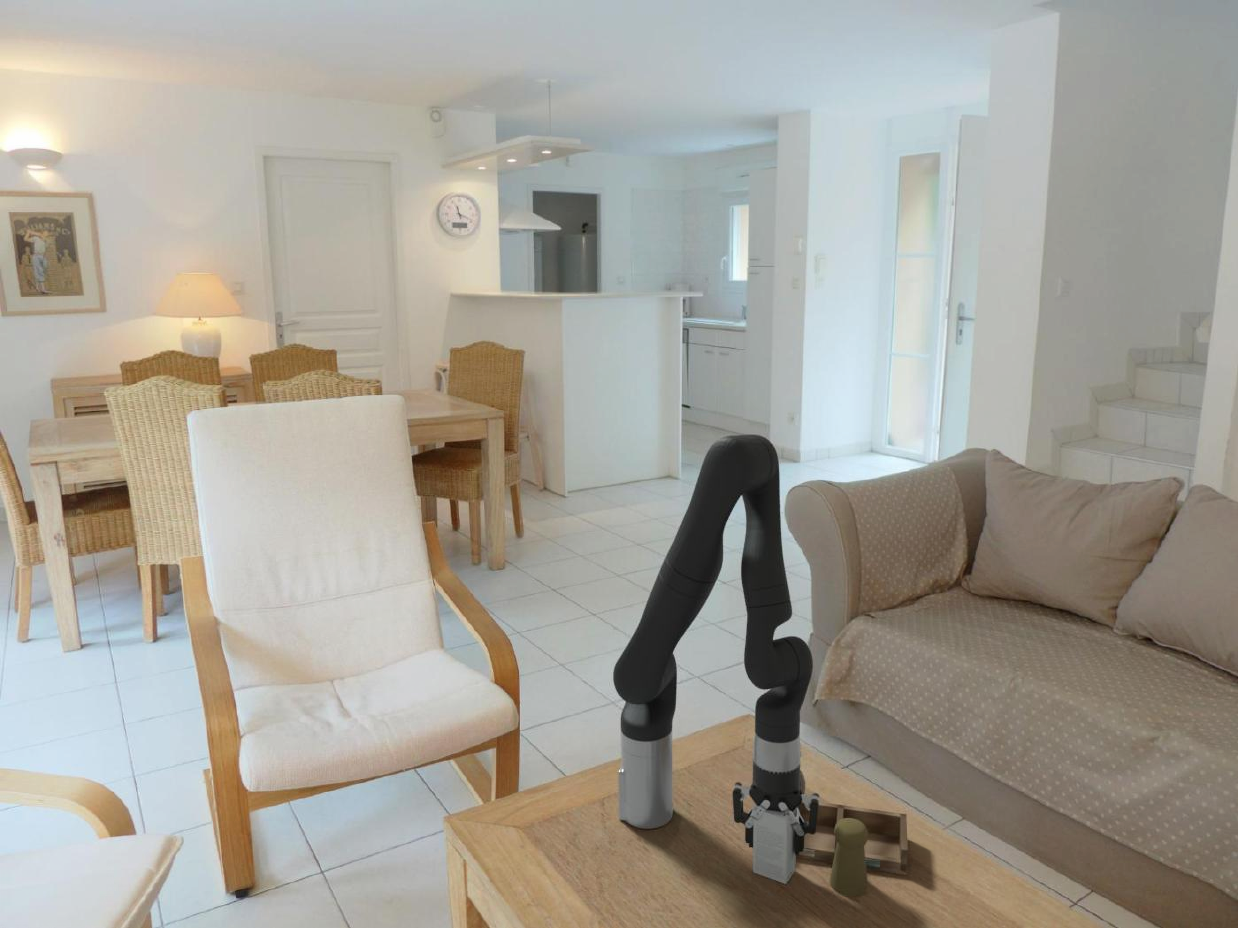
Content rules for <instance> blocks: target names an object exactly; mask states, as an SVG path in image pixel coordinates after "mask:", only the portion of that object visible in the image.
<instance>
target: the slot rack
mask: <svg viewBox="0 0 1238 928" xmlns="http://www.w3.org/2000/svg"><path fill="white" fill-rule="evenodd" d="M797 808H798V809H799V812H800V815H801V817H802V819H803V820H804V822H807V821H809V816H810V811H808V810H807V809H806V807H805V804H804V803H803V802H801V804H800V805H799V806H798V807H797ZM844 818H853V819H857V820H859V821H861V822H862V823H863V824H864V825H865V827H866V829H867V832H868V838H867V842H866V844H865V845H864V851H865V861H866V870H873V871H879V872H886V873H892V874H898V875H904V876H907V870H908V869H907V868H908V855H909V854H908V853H909V846H908V845H909V844H908V843H909V842H908V841H909V840H908V823H907V822H908V821H907V820H908V819H907V818H908V817H907V813H900V812H893V811H887V810H879V809H872V808H864V807H860V806H850V805H844V804H838V803H831V802H830V803H829V802H824V801H823V802H822V801H819V806H818V816H817V825H816V833H815V834H813V835H812V834H810V833H807V834H805V839H804V850H803V852H799V855H796V859H797V858H799V859H805V860H812V861H815V862H816V861H817V862H822V863H823V862H824V863H829V864H833V861H834V856H835V851H836V845H837V841H836V839H835V835H834V829H835V825H836V824H837V822H838V821H839V820H841V819H844Z"/></svg>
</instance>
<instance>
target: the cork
mask: <svg viewBox="0 0 1238 928" xmlns="http://www.w3.org/2000/svg"><path fill="white" fill-rule="evenodd" d="M834 835H835V839H836V841H837V845H836V851H835V856H834V861H833V863H832V865H831V866H832V867H831V871H830V872H831V873H830V876H829V877H830V878H829V884H830V885H829V886H830V887H831V888H832V889H833V891H834V892H836V893H838V894H840V895H842V896H845V897H850V898H852V897H853V898H854V897H861V896H863V895H864V894H866V893H867V891H868V889H869V883H868V872H867V869H866V861H865V851H864V845H865V844H866V842H867V838H868V832H867V829H866V827H865V825H864V824H863V823H862V822H861V821H859V820H857V819H853V818H844V819H841V820H839V821H838V822H837V824H836V825H835V829H834Z"/></svg>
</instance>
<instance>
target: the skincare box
mask: <svg viewBox="0 0 1238 928" xmlns="http://www.w3.org/2000/svg"><path fill="white" fill-rule="evenodd" d="M752 808H753V807H752ZM756 808H757V805H756V806H755V807H754V808H753V812H754V811H755V810H756ZM795 813H796V809H795V810H794V811H793V814H794V815H795ZM790 819H791V818H790V815H784V813H783V812H778V811H772V810H765V812H764V813H763V814H762V816H761V817H760V818H759V820H756V819H754V825H753V848H752V872H753V873H754V874H757V875H760V876H763V877H765V878H768V879H770V880H774V881H776V882H779V883H782V884H784V885H786V884H788V882H789V880H790V879H791V877H792V876H793V874H794V873H795V871H796V865H797V864H796V860H797V857H796V855H795V833H796V831H795V830H794V828H793V826H791V825H790Z"/></svg>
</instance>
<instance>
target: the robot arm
mask: <svg viewBox="0 0 1238 928" xmlns="http://www.w3.org/2000/svg"><path fill="white" fill-rule="evenodd" d="M778 456H779V455H778V453H777V450H776V448H775V446H774V445H773V443H772V442H771V441H770V440H769V439H767V437H765V436H762V435H759V434H754V433H753V434H751V433H750V434H738V435H737V434H736V435H735V434H734V435H733V434H732V435H727V436H722V437H720V438H718V439H717V440H715V442H713V443H712V444H711V445H710V447H709V449H708V450H707V452H706V454H705V456H704V459H703V461H702V464H701V467H700V470H699V473H698V477H697V480H696V484H695V485H694V490H693V492H692V494H691V495H692V496H691V498H690V500H689V501H690V502H689V503H688V504H689V505H688V507H687V509H686V510H685V514H684V516H683V517H682V520H681V522H680V525H679V527H678V530H677V532H676V534H675V536H674V539H673V542H672V543H671V545H670V547H669V549H668V551H667V553H666V556H665V557H664V559H663V562H662V564H661V567H660V569H659V571H658V574H657V575H656V579H655V582H654V584H653V586H652V587H651V588H652V589H651V591H650V593H649V596H648V599H647V602H646V604H645V606H644V609H643V611H642V612H643V613H642V615H641V618H640V620H639V623H638V625H637V627H636V629H635V630H634V633H633V634H632V636H631V638H630V640H629V641H628V643H627V645H626V646H625V648H624V650H623V651H622V653H621V654H620V656H619V657H618V659H617V661H616V663H615V665H614V668H613V672H612V673H613V675H612V676H613V677H612V681H613V685H614V688H615V692H616V693H617V694H618V696H619V697H620V698H621V699H622V700H623V701H625V703H624V706H623V708H622V710H621V715H620V748H621V749H620V750H621V751H620V755H621V756H620V757H621V759H620V760H621V766H620V768H619V770H618V773H617V775H618V776H617V780H618V782H617V783H618V785H617V787H618V788H617V789H618V820H620V821H623V822H626V823H628V824H629V825H630V826H632V827H635V828H638V829H643V830H645V829H647V830H648V829H657V828H661V827H663V826H665V825H666V824H668V823H669V822H670V821H671V820H672V818H673V815H674V799H673V797H674V794H673V791H674V788H673V787H674V786H673V784H674V783H673V782H674V781H673V779H674V778H673V775H674V773H673V772H674V771H673V769H674V768H673V721H674V716H675V712H676V708H677V690H678V689H677V688H678V687H677V684H678V668H677V667H678V666H677V662H676V658H675V655H674V651H675V649H676V648H677V646H678V644H679V642H680V640H681V639H682V637H683V636H684V635H685V633H686V632H687V630H688V629H689V628H690V626H691V625H692V624H693V622H694V621H695V620H696V618H697V617H698V615H699V614H700V612H701V610H702V609H703V607H704V605H705V604H706V602H707V600H708V599H709V597H710V595H711V594H712V591H713V589H714V586H715V584H716V583H717V582H718V581H717V580H718V578H719V576H720V573H721V571H722V568H723V562H724V533H725V532H724V531H725V528H726V525H727V522H728V520H729V519H730V516H731V514H732V512H733V510H734V508H735V506H736V504H737V503H738V502H739V500H740V499H741V497H742V501H743V504H744V511H745V522H746V523H745V535H744V542H743V549H742V557H741V565H740V580H741V586H742V591H743V598H744V603H745V609H746V628H745V631H746V632H745V643H744V651H743V663H744V670H745V672H746V675H747V677H748V680H749V681H750V682H751V684H752V685H754V687H756V688H758V689H759V690H764V691H765V690H766V691H765V692H764V693H763V694H760V696H759V697H758V698H757V699H756V701H755V709H754V734H753V735H754V736H753V741H752V783H751V784H750V785H749V786H748V785H747V786H746V785H742V783H741V782H738V781H737V782H735V783H734V786H733V789H732V805H733V808H732V809H733V821H734V823H737V824H742V825H744V830H745V831H744V841H745V843H746V844H748V848H752V849H753V825H754V819H756V820H759V818H760V817H761V816H762V814H763V813H764V812H765V810H772V811H778V812H783V813H784V815H790V818H791V819H790V825H791V826H793V828H794V830H795V831H796V833H795V855H799V852H803V850H804V839H805V834H807V833H810V834H812V835H813V834H815V833H816V825H817V816H818V806H819V802H820V794H819V793H817V792H814V793H812V795H809V794H802V792H801V790H800V770H801V758H802V751H801V750H802V747H801V746H802V744H801V737H800V735H801V734H800V731H801V710H802V707H803V704H804V701H805V699H806V695H807V693H808V692H807V691H808V688H809V686H810V682H811V680H812V674H813V667H814V664H813V663H814V660H813V655H812V651H811V649H810V647H809V645H808V644H807V643H806V641H804V640H803V639H802V638H801V637H798V636H796V635H789V636H785V637H780V638H777V639H774V636H775V632H776V630H777V628H778V627H780V626H781V625H783V624H785V623H786V622H788V621H789V620H790V619H791V618H792V617H793V606H792V602H791V595H790V590H789V583H788V578H787V573H786V567H785V561H784V553H783V542H782V525H781V524H782V522H781V521H782V520H781V519H782V518H781V499H780V498H781V492H780V490H781V489H780V488H781V485H780V483H781V482H780V478H781V475H780V461H779V457H778ZM747 796H749V797H750V798H751V799H752V801H753V803H754V804H753V806H752V808H751V809H750V810H749V812H748V813H747V812H746V811H745V810H744V801H745V800H746V799H747ZM801 802H803V803H804V804H805V807H806V809H807V810H808V811H810V816H809V821H807V822H804V820H803V819H802V817H801V815H800V812H799V809H798V808H797V807H798V806H799V805H800V804H801ZM756 805H757V808H756V810H755V811H754V812H753V808H754V807H755V806H756ZM795 809H796V813H795V815H794V814H793V811H794V810H795Z"/></svg>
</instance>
